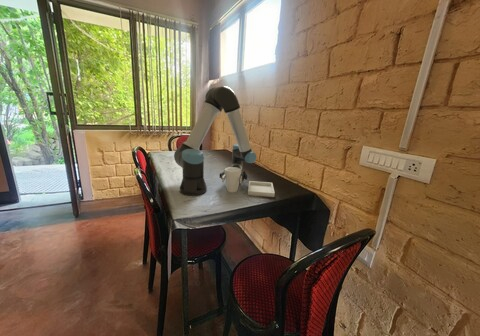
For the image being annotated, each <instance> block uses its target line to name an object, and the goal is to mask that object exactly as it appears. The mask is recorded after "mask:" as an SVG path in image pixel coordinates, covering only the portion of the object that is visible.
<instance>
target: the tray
mask: <svg viewBox="0 0 480 336" xmlns="http://www.w3.org/2000/svg"><path fill="white" fill-rule="evenodd" d="M275 194H276V193H275V188H274V184H273V182H268V181H253V180H249V181H248V189H247V196H250V197H265V198H266V197H267V198H275Z"/></svg>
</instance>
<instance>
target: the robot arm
mask: <svg viewBox="0 0 480 336" xmlns="http://www.w3.org/2000/svg"><path fill="white" fill-rule="evenodd" d="M204 97H205V100H204V102H203V106H204V108H203V109H202V111H201V113H200V115H199V116H198V118H197V121H196V122H195V124H194V126H193V128H192V130H191V132H190V133H189V136H188V137H187V139H186V140H185V141H184V142H182V143H181V145H180V147H177V148H176V150H175V151H174V154H173V159H174V161H175V163H176V164H177V165H178V166H179V167H181V168H182V179H181V183H180V186H179V192H180V193H181V194H182V195H185V196H201V195H202V194H205V193H206V192H207V191H208V190H207V189H208V188H207V183H206V181H205V175H204V174H205V172H204V171H205V166H204V165H205V163H204V162H205V156H204V152H203V151H202V150H200V146H201V145H202V143H203V141H204V139H205V138H206V135H207V134H208V132H209V130H210V128H211V126H212V124H213V122H214V121H215V119H216V117H217V115H219V114H221V113H222V112H224V114H226V115H227V118H228V121H229V123H230V126H231V129H232V133H233V136H234V138H235V141H236V144H233V145H232V151H231V152H232V154H231V155H232V156H231V157H232V159H231V166H230V167H236V168H240V169H241V174H240V180H239V185H240V184H242V183H243V181H246V180H248V175H247V173H246V171H242V170H243V166H244V165H243V162H245V163H246V164H247V163H248V164H253V163H255V162H256V161H257V154H256V153H255V152H254V151H253V149H252V147H251V143H250V140H249V136H248V134H247V131H246V128H245V124H244V120H243V117H242V114H241V111H240V110H241V105H240V102H239V100H238V97H237V95H236V93H235V92H234V91H233V89H232V88H231V87H229V86H225V85H222V86H216V87H212V88H210V89H209V90H207V92H206V94H205V96H204ZM219 179H221V182H222V183H224V182H225V181H226V177H225V169H224V170H223V171H221V172H220V173H219Z"/></svg>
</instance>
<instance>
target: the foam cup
mask: <svg viewBox="0 0 480 336" xmlns="http://www.w3.org/2000/svg"><path fill="white" fill-rule="evenodd" d="M224 170H225V177H226V178H225V185H226V191H227V192H229V193H236V192H238V189H239V185H240V174H241V172H242V170H241V169H240V168H236V167H231V166H229V167H226V168H224Z"/></svg>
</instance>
